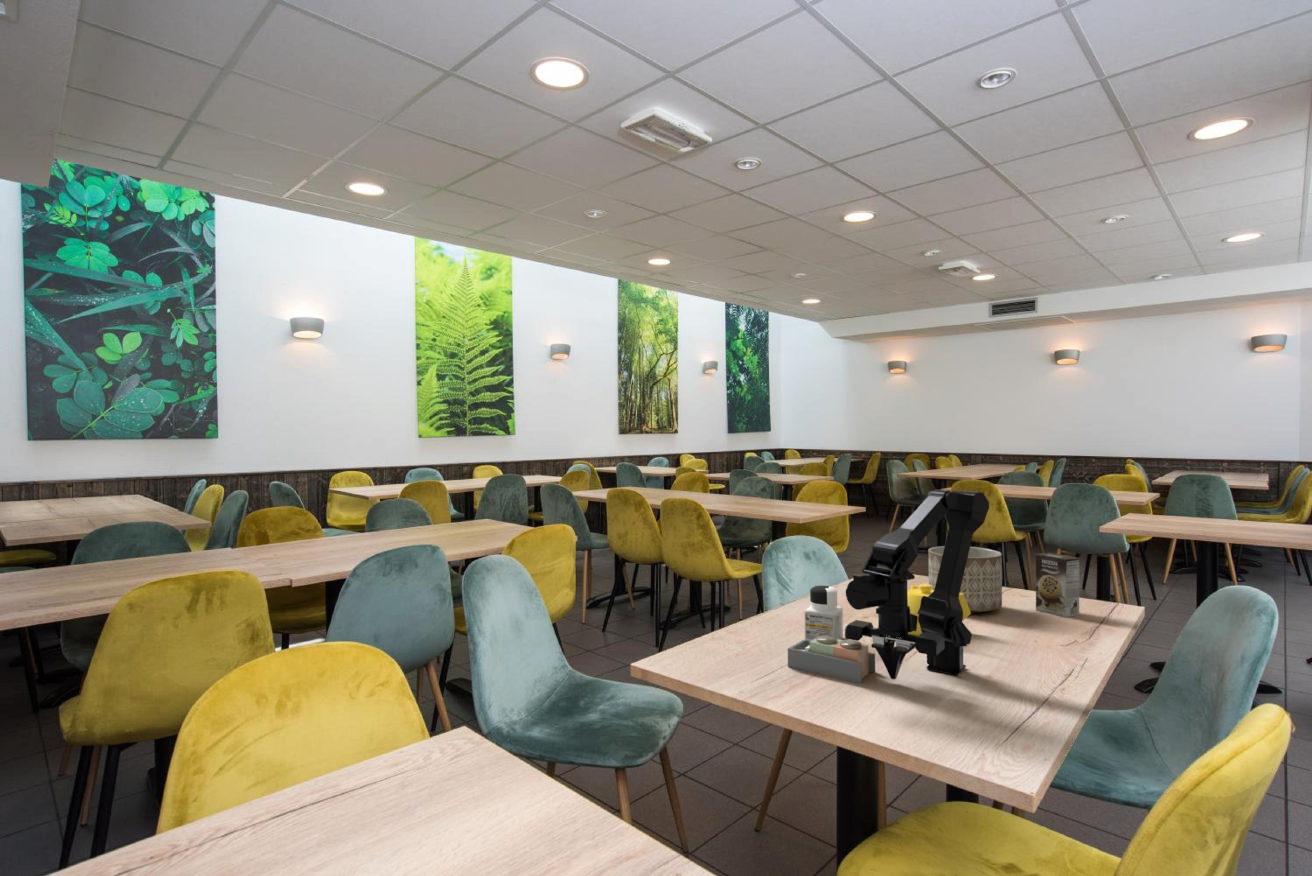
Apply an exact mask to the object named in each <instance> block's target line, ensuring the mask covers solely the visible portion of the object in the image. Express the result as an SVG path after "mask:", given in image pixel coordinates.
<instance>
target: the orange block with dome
mask: <svg viewBox="0 0 1312 876" xmlns="http://www.w3.org/2000/svg"><path fill="white" fill-rule="evenodd" d="M842 640H843V639H842ZM868 652H869V644H864V643H862V642H860V641H856V640H851V639H844V640H843V641H841V642H840V643H839V644H837V645H835V646H834V647H833V657H835V658H840V659H845V660H850V661H854V662H859V663H862V679H863V678H864V677H865V676H867V675H868V674H869V665H868Z"/></svg>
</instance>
